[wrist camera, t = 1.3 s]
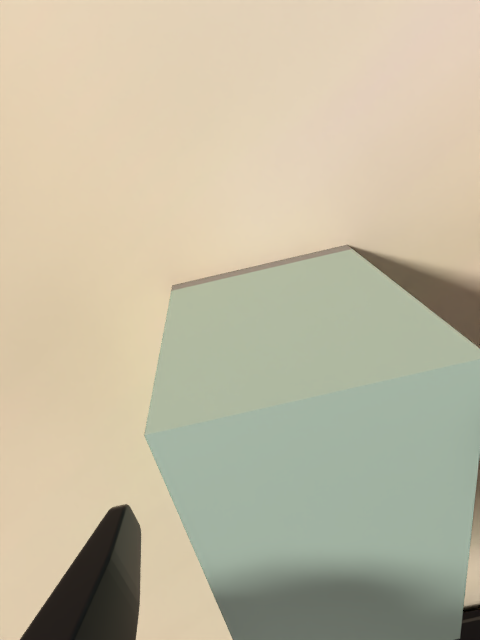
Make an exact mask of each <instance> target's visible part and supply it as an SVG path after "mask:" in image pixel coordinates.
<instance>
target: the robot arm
mask: <svg viewBox="0 0 480 640" xmlns="http://www.w3.org/2000/svg"><path fill="white" fill-rule="evenodd" d="M140 567H141V529H140V525H139V523H138V521H137V519H136V517H135V515H134V513H133V511H132V509H131V508H130V506H129V505H127V504H125V505H120V506H116V507H112V508H111V509H110V510H109V511H108V512H107V514H106V515H105V517H104V518H103V519H102V521H101V522H100V524H99V525H98V527H97V528H96V530H95V531H94V533H93V534H92V535H91V537H90V538H89V540H88V541H87V543H86V544H85V546H84V547H83V549H82V550H81V551H80V553H79V554H78V556H77V557H76V559H75V560H74V562H73V563H72V565H71V566H70V567H69V569H68V570H67V572H66V573H65V575H64V576H63V578H62V579H61V581H60V582H59V584H58V585H57V586H56V588H55V589H54V591H53V592H52V594H51V595H50V597H49V598H48V600H47V601H46V602H45V604H44V605H43V607H42V608H41V610H40V611H39V613H38V614H37V616H36V617H35V618H34V620H33V621H32V623H31V624H30V626H29V627H28V629H27V630H26V632H25V633H24V634H23V636H22V637H21V639H20V640H136V632H137V624H138V615H139V604H140ZM455 640H480V609H478V610H474V611H469V612H464V613H463V615H462V624H461V634H460V639H455Z"/></svg>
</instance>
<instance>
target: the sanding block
mask: <svg viewBox="0 0 480 640" xmlns="http://www.w3.org/2000/svg"><path fill="white" fill-rule="evenodd" d="M144 436H145V438H146V440H147V443H148V445H149V447H150V449H151V452H152V454H153V456H154V459H155V461H156V463H157V466H158V468H159V470H160V473H161V475H162V477H163V479H164V482H165V484H166V486H167V489H168V491H169V493H170V496H171V498H172V500H173V502H174V505H175V507H176V509H177V512H178V514H179V516H180V519H181V521H182V523H183V526H184V528H185V530H186V532H187V535H188V537H189V539H190V542H191V544H192V546H193V549H194V551H195V553H196V555H197V558H198V560H199V562H200V565H201V567H202V569H203V572H204V574H205V576H206V579H207V581H208V583H209V585H210V588H211V590H212V592H213V595H214V597H215V599H216V602H217V604H218V606H219V608H220V611H221V613H222V615H223V618H224V620H225V622H226V625H227V627H228V629H229V632H230V634H231V636H232V638H233V640H455V639H460V634H461V624H462V615H463V606H464V596H465V587H466V578H467V568H468V559H469V550H470V540H471V531H472V521H473V512H474V503H475V493H476V484H477V475H478V465H479V456H480V348H478V347H477V346H476V345H475V344H473V343H472V342H471V341H469V340H468V339H467V338H466V337H464V336H463V335H462V334H460V333H459V332H458V331H457V330H455V329H454V328H453V327H451V326H450V325H449V324H448V323H446V322H445V321H444V320H443V319H441V318H440V317H439V316H437V315H436V314H435V313H434V312H432V311H431V310H430V309H428V308H427V307H426V306H425V305H423V304H422V303H421V302H420V301H418V300H417V299H416V298H414V297H413V296H412V295H411V294H409V293H408V292H407V291H405V290H404V289H403V288H402V287H400V286H399V285H398V284H397V283H395V282H394V281H393V280H391V279H390V278H389V277H388V276H386V275H385V274H384V273H382V272H381V271H380V270H379V269H377V268H376V267H375V266H373V265H372V264H371V263H370V262H368V261H367V260H366V259H365V258H363V257H362V256H361V255H359V254H358V253H357V252H356V251H354V250H353V249H352V248H350V247H349V246H348V245H344V246H340V247H336V248H332V249H327V250H323V251H319V252H314V253H310V254H306V255H301V256H297V257H293V258H289V259H284V260H280V261H276V262H271V263H267V264H263V265H258V266H254V267H250V268H245V269H241V270H237V271H233V272H228V273H224V274H220V275H215V276H211V277H207V278H202V279H198V280H194V281H189V282H185V283H181V284H177V285H172V290H171V295H170V301H169V306H168V311H167V317H166V322H165V327H164V333H163V338H162V343H161V349H160V354H159V359H158V365H157V370H156V376H155V381H154V386H153V392H152V397H151V402H150V408H149V413H148V418H147V424H146V429H145V434H144Z"/></svg>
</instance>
